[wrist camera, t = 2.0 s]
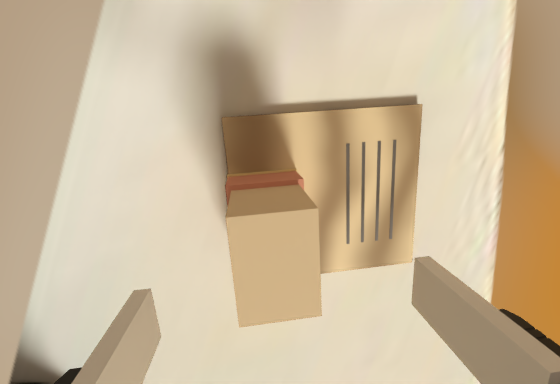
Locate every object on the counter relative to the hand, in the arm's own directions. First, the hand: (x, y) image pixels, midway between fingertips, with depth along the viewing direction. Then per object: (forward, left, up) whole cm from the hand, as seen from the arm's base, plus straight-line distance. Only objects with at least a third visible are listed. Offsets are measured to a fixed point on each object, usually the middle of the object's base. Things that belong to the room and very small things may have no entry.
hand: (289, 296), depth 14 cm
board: (+6, +1, -13) cm, 14 cm away
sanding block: (0, 0, -13) cm, 13 cm away
